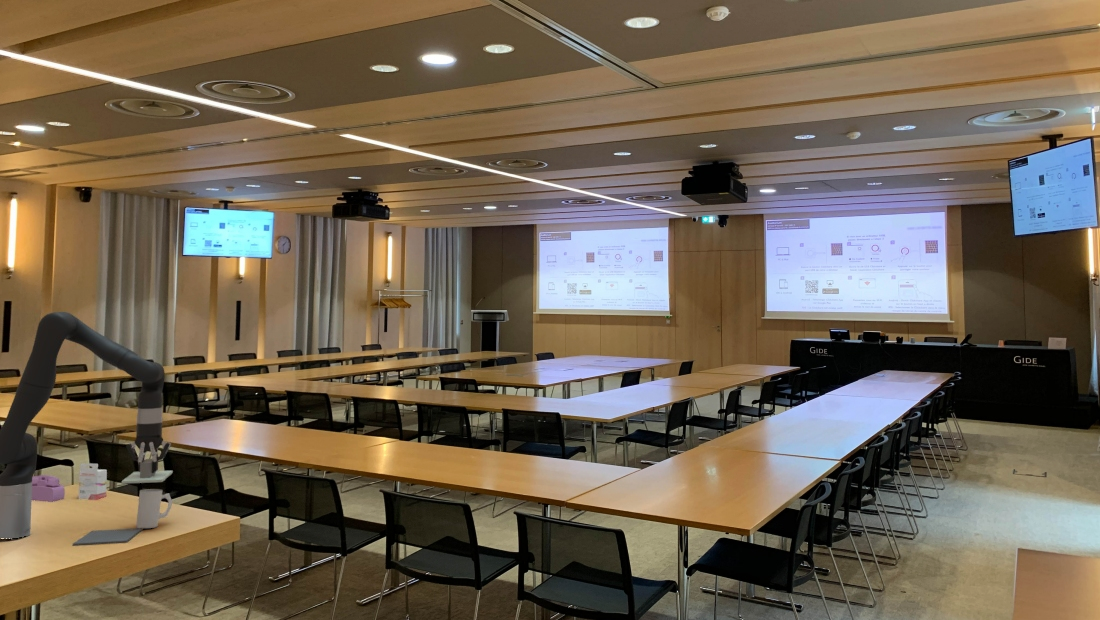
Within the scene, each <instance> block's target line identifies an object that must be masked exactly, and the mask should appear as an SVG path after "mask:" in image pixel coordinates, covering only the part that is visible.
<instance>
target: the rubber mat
mask: <svg viewBox="0 0 1100 620" xmlns="http://www.w3.org/2000/svg"><path fill="white" fill-rule="evenodd" d="M143 529H144V528H137V527H135V528H122V529H121V528H120V529H118V528H117V529H100V530H91V531H89V532H88V533H87V534H85V535H83V536H82V537H80V538H79V539H77V540H76V541H74V542H73V543H72V547H73V546H87V545H89V546H90V545H91V546H92V545H106V544H109V545H110V544H124V543H125V544H126V543H128V542H130V541H131V540H132V539H133V538H135V537H136V536H137V535H138V534H140V533H141V532H142V531H143Z"/></svg>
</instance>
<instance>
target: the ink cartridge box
mask: <svg viewBox="0 0 1100 620" xmlns="http://www.w3.org/2000/svg"><path fill="white" fill-rule="evenodd" d="M98 467H99V464H98V463H91V462H90V463H89V462H88V463H86V462H85V463H84V462H82V463H80V467H79V471H78V473H79V474H78V476H79V477H78V500H81V499H88V500H89V501H99V500H102V499H104V498H107V483H108V482H107V478H108V477H107V476H108V475H107V474H108V472H107V471H108V470H107V469H99V468H98ZM101 498H102V499H101Z"/></svg>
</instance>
